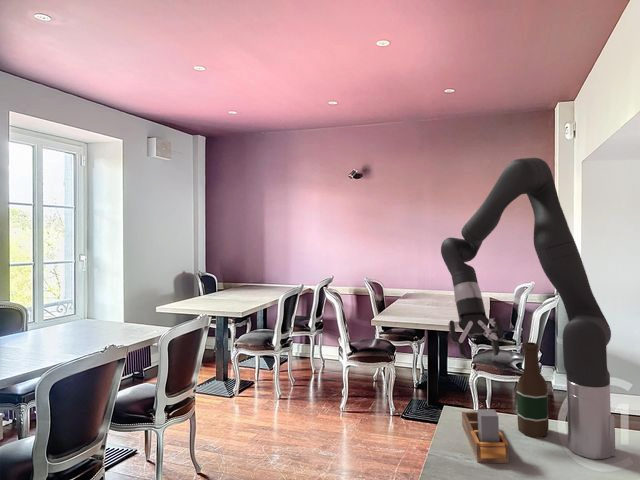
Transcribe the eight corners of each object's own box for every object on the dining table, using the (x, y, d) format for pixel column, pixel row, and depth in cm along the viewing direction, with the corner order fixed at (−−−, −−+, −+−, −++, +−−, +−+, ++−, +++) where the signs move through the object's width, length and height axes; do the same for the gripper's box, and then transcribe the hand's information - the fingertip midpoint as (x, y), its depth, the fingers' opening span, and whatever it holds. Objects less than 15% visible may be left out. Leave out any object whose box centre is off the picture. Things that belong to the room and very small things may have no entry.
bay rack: (488, 426, 129) (488, 410, 129) (509, 464, 109) (508, 445, 108) (462, 425, 130) (461, 409, 130) (477, 463, 109) (477, 444, 109)
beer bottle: (553, 439, 120) (550, 347, 119) (521, 437, 122) (518, 347, 121) (544, 426, 128) (542, 340, 127) (514, 424, 129) (512, 339, 128)
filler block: (495, 447, 115) (494, 409, 115) (499, 455, 111) (498, 416, 111) (478, 446, 115) (477, 409, 115) (482, 454, 111) (481, 416, 111)
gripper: (446, 298, 132) (456, 355, 124) (496, 294, 131) (510, 351, 123) (442, 306, 138) (452, 361, 131) (490, 302, 137) (503, 357, 130)
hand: (480, 356), depth 127 cm, fingers open, 8 cm apart
